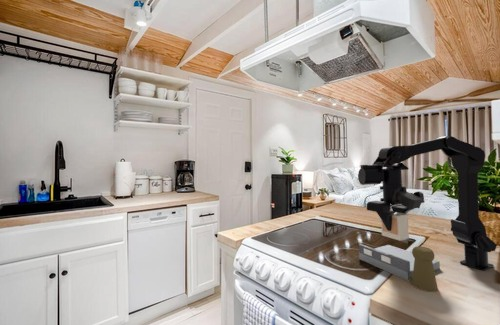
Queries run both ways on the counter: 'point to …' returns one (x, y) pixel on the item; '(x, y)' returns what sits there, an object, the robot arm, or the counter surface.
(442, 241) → the counter surface
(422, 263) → the olive pawn
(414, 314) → the counter surface
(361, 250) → the shelf
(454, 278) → the counter surface
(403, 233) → the tea box
